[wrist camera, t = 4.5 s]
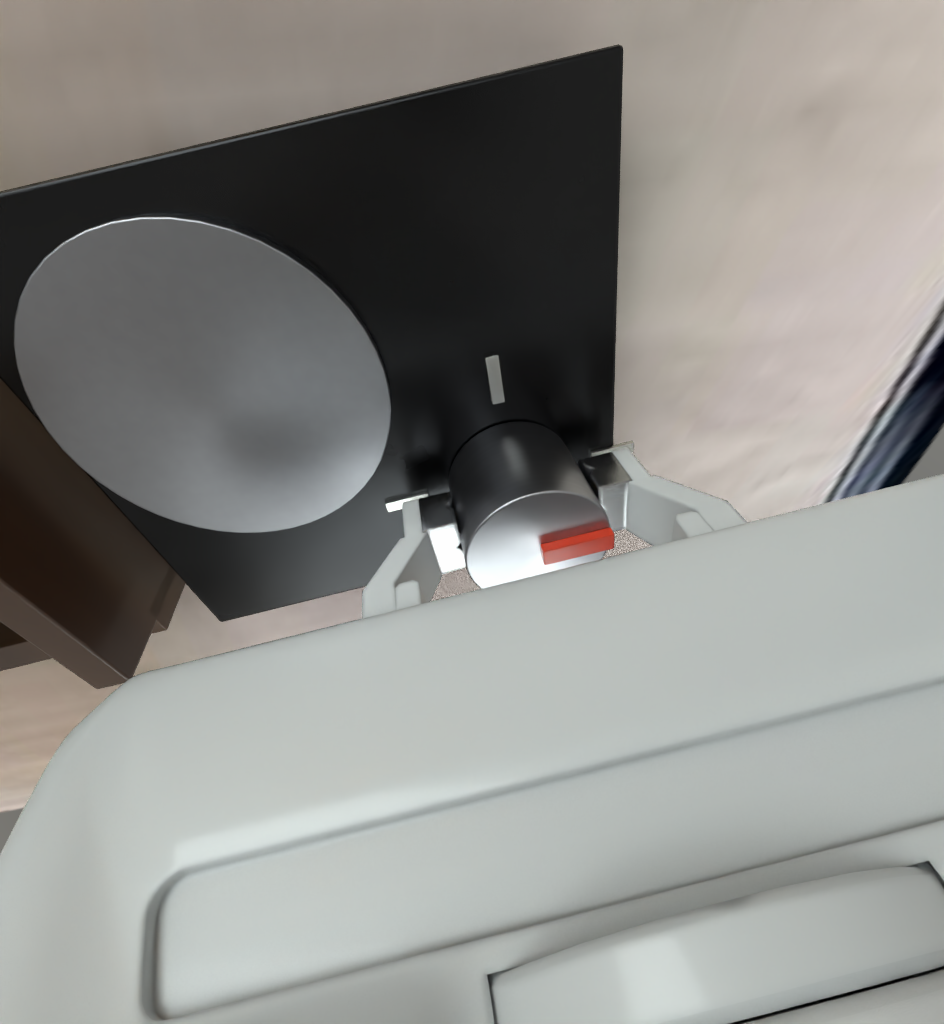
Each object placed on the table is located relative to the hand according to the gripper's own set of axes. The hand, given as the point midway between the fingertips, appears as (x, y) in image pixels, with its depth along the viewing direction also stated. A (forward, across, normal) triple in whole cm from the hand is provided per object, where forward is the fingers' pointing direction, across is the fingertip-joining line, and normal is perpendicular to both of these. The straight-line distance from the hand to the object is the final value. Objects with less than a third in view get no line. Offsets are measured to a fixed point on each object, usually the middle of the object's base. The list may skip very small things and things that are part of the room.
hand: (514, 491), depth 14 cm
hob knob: (+1, 0, 0) cm, 1 cm away
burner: (+1, +7, -4) cm, 8 cm away
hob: (+4, +4, -3) cm, 6 cm away
